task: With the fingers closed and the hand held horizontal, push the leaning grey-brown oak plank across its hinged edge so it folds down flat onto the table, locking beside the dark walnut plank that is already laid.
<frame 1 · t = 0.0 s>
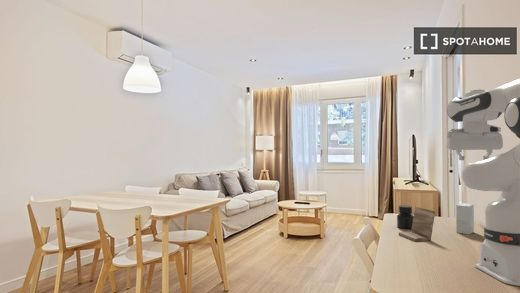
hand: (473, 160, 133), 39 cm above the table, tool pointing down, fingers open, 8 cm apart
ink bottle: (405, 228, 172), on the table
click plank: (422, 222, 153), point 7 cm above the table, hinge at 12.0°
laid plank: (421, 237, 152), on the table
skincare box: (465, 232, 161), on the table
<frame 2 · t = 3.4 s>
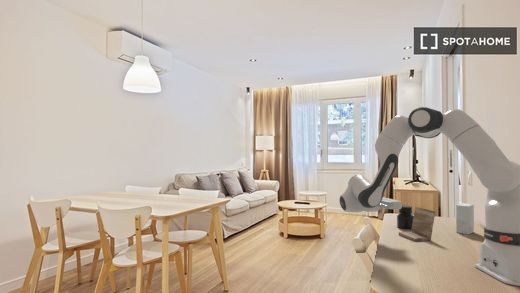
hand: (397, 201, 150), 18 cm above the table, tool horizontal, fingers closed
nothing on the table moved.
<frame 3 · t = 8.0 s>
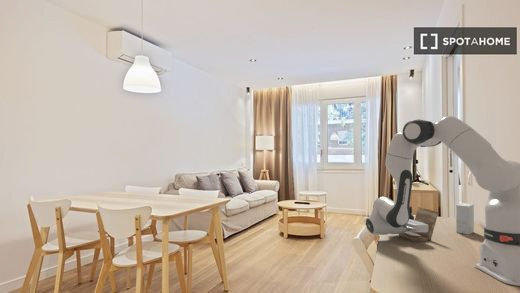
hand: (422, 223, 153), 7 cm above the table, tool horizontal, fingers closed, pressing on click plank
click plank: (424, 223, 153), point 7 cm above the table, hinge at 19.3°, touching gripper
everything else where it was.
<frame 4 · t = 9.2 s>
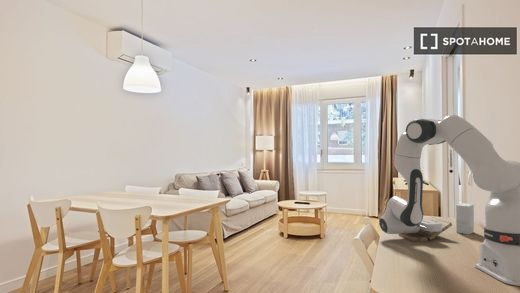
hand: (435, 222, 154), 7 cm above the table, tool horizontal, fingers closed
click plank: (431, 228, 154), point 4 cm above the table, hinge at 61.8°, touching gripper
everything else where it was.
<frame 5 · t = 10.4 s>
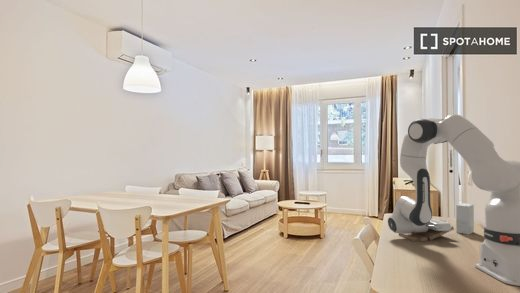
hand: (443, 221, 155), 7 cm above the table, tool horizontal, fingers closed
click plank: (432, 230, 154), point 3 cm above the table, hinge at 71.0°
everything else where it was.
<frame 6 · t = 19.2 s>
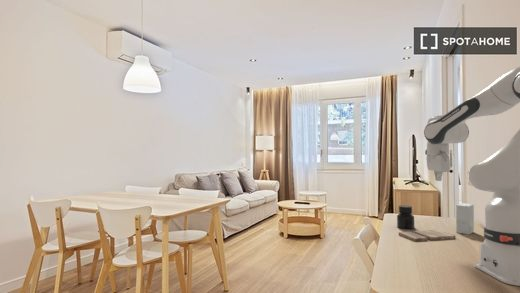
hand: (438, 180, 142), 29 cm above the table, tool pointing down, fingers closed
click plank: (433, 234, 154), point 1 cm above the table, hinge at 90.1°
everything else where it was.
at the end: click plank at +90° (first picture: +12°); the gripper is holding nothing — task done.
